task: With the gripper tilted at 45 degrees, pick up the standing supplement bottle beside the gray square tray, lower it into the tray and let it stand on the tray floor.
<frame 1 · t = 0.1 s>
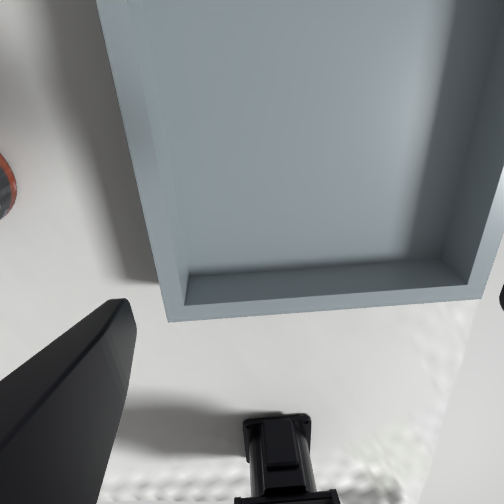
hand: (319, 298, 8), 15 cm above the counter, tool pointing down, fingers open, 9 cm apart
gray square tray: (318, 135, 21), on the counter
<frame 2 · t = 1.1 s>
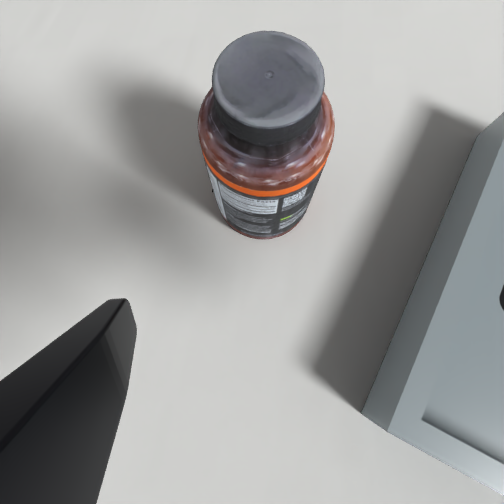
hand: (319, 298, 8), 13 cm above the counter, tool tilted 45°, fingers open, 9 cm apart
supplement bottle: (262, 200, 23), on the counter
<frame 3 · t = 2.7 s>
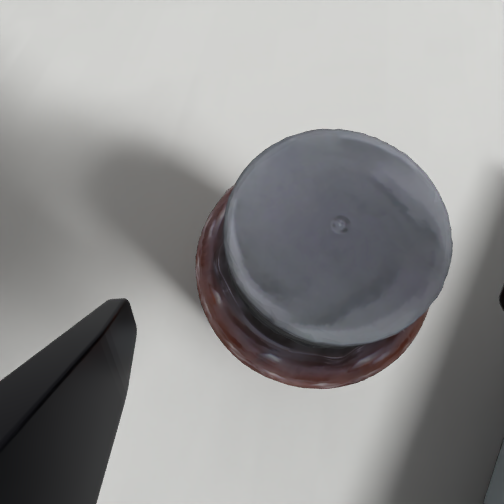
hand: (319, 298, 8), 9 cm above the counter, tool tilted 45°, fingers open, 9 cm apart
supplement bottle: (284, 304, 17), on the counter
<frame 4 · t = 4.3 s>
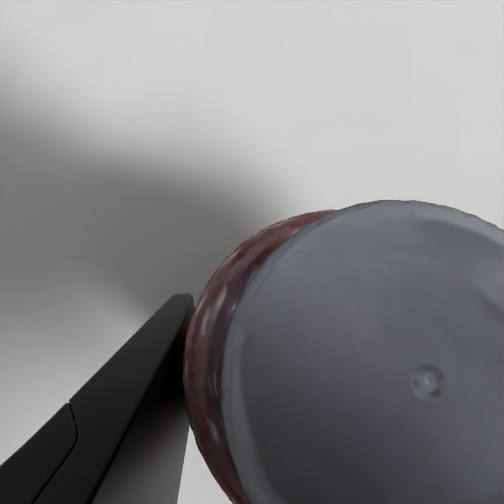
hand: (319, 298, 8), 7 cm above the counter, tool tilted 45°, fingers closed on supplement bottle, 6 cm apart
supplement bottle: (295, 353, 14), on the counter, touching gripper
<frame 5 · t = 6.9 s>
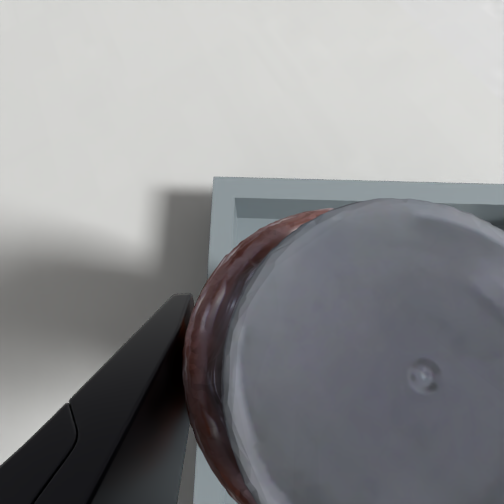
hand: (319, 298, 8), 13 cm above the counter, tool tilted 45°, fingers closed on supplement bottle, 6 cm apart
supplement bottle: (292, 351, 15), point 6 cm above the counter, touching gripper
gray square tray: (382, 368, 20), on the counter
when the fingers open (9 cm above the counter, at t = 9.4 s): supplement bottle drops 1 cm, resting on gray square tray.
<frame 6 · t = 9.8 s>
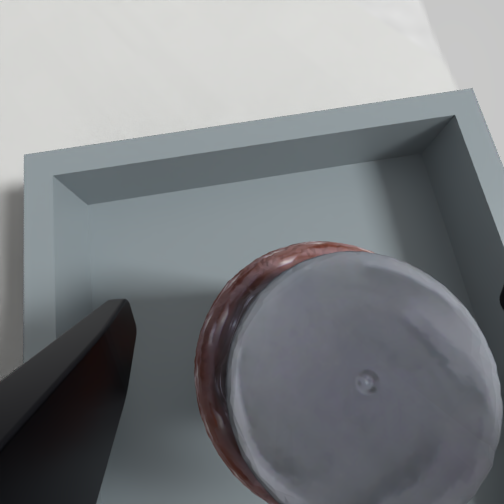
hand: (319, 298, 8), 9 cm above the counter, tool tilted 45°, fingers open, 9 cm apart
supplement bottle: (290, 354, 16), point 1 cm above the counter, touching gray square tray
gray square tray: (288, 352, 17), on the counter
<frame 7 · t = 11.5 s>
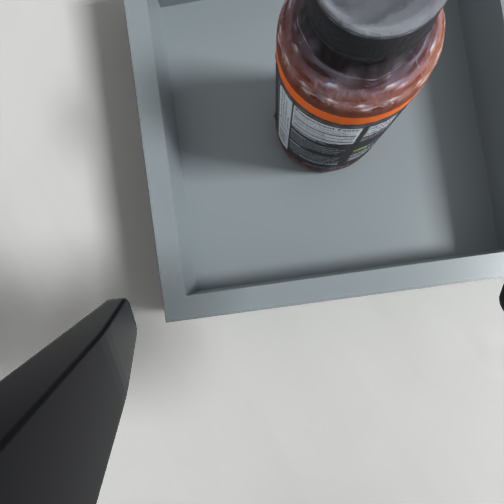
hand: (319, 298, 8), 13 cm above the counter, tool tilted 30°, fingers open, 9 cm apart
supplement bottle: (323, 126, 21), point 1 cm above the counter, touching gray square tray
gray square tray: (322, 129, 22), on the counter
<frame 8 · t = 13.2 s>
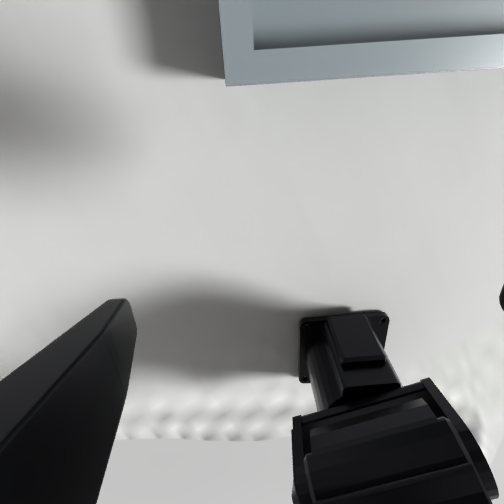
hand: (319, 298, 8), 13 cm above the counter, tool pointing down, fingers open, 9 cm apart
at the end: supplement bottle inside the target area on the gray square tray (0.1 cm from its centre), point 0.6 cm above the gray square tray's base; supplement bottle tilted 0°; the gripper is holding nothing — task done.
